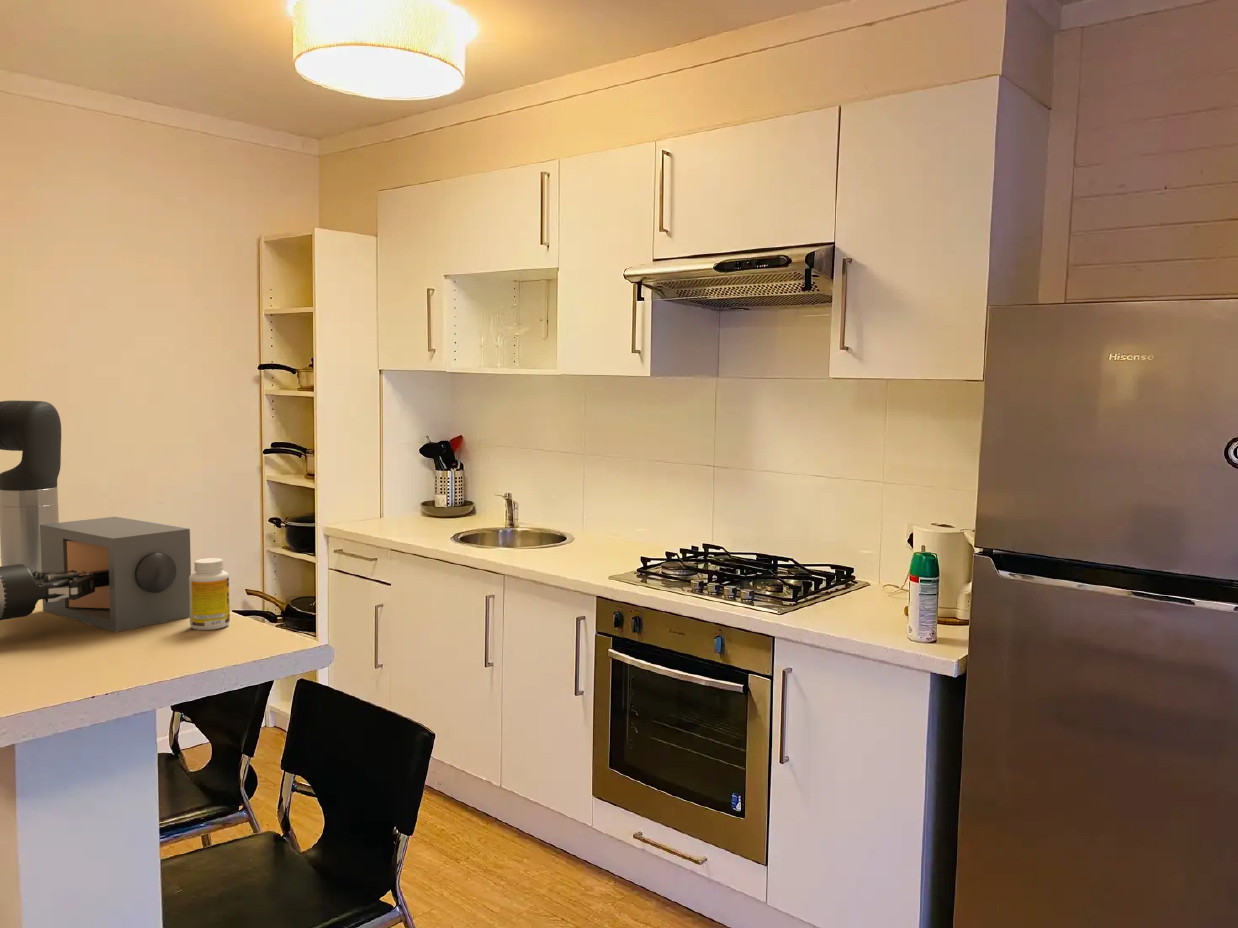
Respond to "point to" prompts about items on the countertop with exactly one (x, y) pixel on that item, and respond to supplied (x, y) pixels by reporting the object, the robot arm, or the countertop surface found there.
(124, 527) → the housing
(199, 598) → the supplement bottle
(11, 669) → the countertop surface
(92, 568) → the door
